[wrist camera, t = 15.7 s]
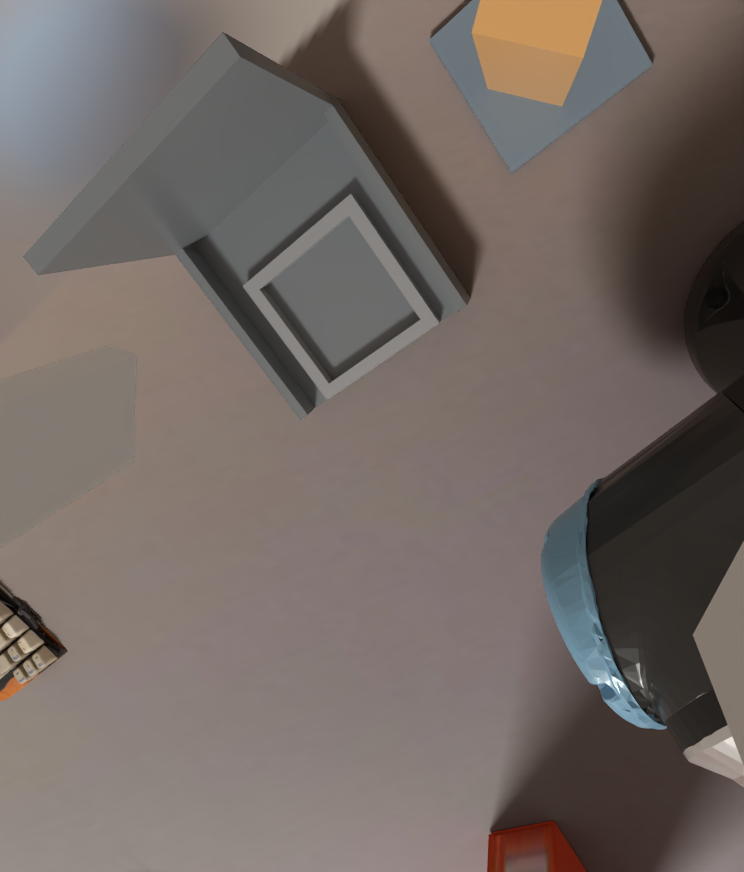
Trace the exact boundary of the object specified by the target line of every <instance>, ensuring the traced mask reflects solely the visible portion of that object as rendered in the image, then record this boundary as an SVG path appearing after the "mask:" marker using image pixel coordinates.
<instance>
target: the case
mask: <svg viewBox="0 0 744 872" xmlns="http://www.w3.org/2000/svg"><path fill="white" fill-rule="evenodd" d="M170 255H176V256H177V258H178V259H179V260H180V262H181V263H182V264H183V266H184V267H185V268H186V270H187V271H188V272H189V274H190V275H191V276H192V278H193V279H194V280H195V282H196V283H197V284H198V285H199V287H200V288H201V289H202V291H203V292H204V293H205V295H206V296H207V297H208V299H209V300H210V301H211V303H212V304H213V305H214V307H215V308H216V309H217V311H218V312H219V313H220V315H221V316H222V317H223V318H224V320H225V321H226V322H227V324H228V325H229V326H230V328H231V329H232V330H233V332H234V333H235V334H236V336H237V337H238V338H239V340H240V341H241V342H242V344H243V345H244V346H245V347H246V349H247V350H248V351H249V353H250V354H251V355H252V357H253V358H254V359H255V361H256V362H257V363H258V365H259V366H260V367H261V369H262V370H263V371H264V373H265V374H266V375H267V376H268V378H269V379H270V380H271V382H272V383H273V384H274V386H275V387H276V388H277V390H278V391H279V392H280V394H281V395H282V396H283V398H284V399H285V400H286V402H287V403H288V404H289V405H290V407H291V408H292V409H293V411H294V412H295V413H296V415H297V416H298V417H299V419H300V420H301V419H302V418H304V417H305V416H307V415H308V414H309V413H310V412H311V411H312V410H313V409H314V408H315V407H316V406H318V405H319V404H321V403H322V402H323V401H325V400H326V399H327V400H328V399H330V398H331V397H332V396H334V395H335V394H337V393H338V392H340V391H341V390H343V389H344V388H346V387H347V386H349V385H350V384H351V383H353V382H354V381H356V380H357V379H359V378H360V377H362V376H363V375H365V374H366V373H367V372H369V371H370V370H372V369H373V368H375V367H376V366H378V365H379V364H381V363H382V362H383V361H385V360H386V359H388V358H389V357H391V356H392V355H394V354H395V353H397V352H398V351H399V350H401V349H402V348H404V347H405V346H407V345H408V344H410V343H411V342H413V341H414V340H415V339H417V338H418V337H420V336H421V335H423V334H424V333H426V332H427V331H429V330H430V329H431V328H433V327H434V326H436V325H437V324H439V323H440V321H441V320H443V319H444V318H446V317H447V316H448V315H450V314H451V313H453V312H454V311H457V312H458V311H460V310H461V309H463V308H464V307H466V306H467V304H468V302H469V300H470V299H471V298H470V297H469V295H468V294H467V292H466V291H465V289H464V288H463V286H462V285H461V283H460V282H459V280H458V279H457V277H456V276H455V274H454V273H453V271H452V270H451V268H450V267H449V265H448V264H447V262H446V261H445V259H444V258H443V256H442V255H441V253H440V252H439V250H438V249H437V247H436V246H435V244H434V243H433V241H432V240H431V238H430V237H429V235H428V234H427V232H426V231H425V229H424V228H423V226H422V225H421V223H420V222H419V220H418V219H417V217H416V216H415V214H414V213H413V211H412V210H411V208H410V207H409V205H408V204H407V202H406V201H405V199H404V198H403V196H402V195H401V193H400V192H399V190H398V189H397V187H396V186H395V184H394V183H393V181H392V180H391V178H390V177H389V175H388V174H387V172H386V171H385V169H384V168H383V166H382V165H381V163H380V162H379V160H378V159H377V157H376V156H375V154H374V153H373V151H372V150H371V148H370V147H369V145H368V144H367V142H366V141H365V139H364V138H363V136H362V135H361V133H360V132H359V130H358V129H357V127H356V126H355V124H354V123H353V121H352V120H351V118H350V117H349V115H348V114H347V112H346V111H345V109H344V108H343V106H342V105H341V103H340V102H339V100H338V99H337V98H336V97H335V96H333V95H331V94H329V93H328V92H326V91H324V90H323V89H321V88H319V87H317V86H316V85H314V84H312V83H310V82H309V81H307V80H305V79H303V78H302V77H300V76H298V75H296V74H295V73H293V72H291V71H290V70H288V69H286V68H284V67H283V66H281V65H279V64H277V63H276V62H274V61H272V60H270V59H269V58H267V57H265V56H263V55H262V54H260V53H258V52H257V51H255V50H253V49H251V48H249V47H248V46H246V45H244V44H243V43H241V42H239V41H237V40H236V39H234V38H232V37H231V36H229V35H227V34H225V33H223V32H222V34H221V35H220V36H219V37H218V38H217V39H216V40H215V42H214V43H213V44H212V45H211V46H210V47H209V48H208V49H207V50H206V52H205V53H204V54H203V55H202V56H201V57H200V58H199V60H198V61H197V62H196V63H195V64H194V65H193V66H192V67H191V68H190V70H189V71H188V72H187V73H186V74H185V75H184V76H183V77H182V79H181V80H180V81H179V82H178V83H177V84H176V85H175V86H174V88H173V89H172V90H171V91H170V92H169V93H168V94H167V95H166V97H165V98H164V99H163V100H162V101H161V102H160V103H159V104H158V106H157V107H156V108H155V109H154V110H153V111H152V112H151V113H150V115H149V116H148V117H147V118H146V119H145V120H144V121H143V122H142V124H141V125H140V126H139V127H138V128H137V129H136V130H135V132H133V134H132V135H131V136H130V137H129V138H128V139H127V140H126V142H125V143H124V144H123V145H122V146H121V147H120V148H119V149H118V150H117V152H116V153H115V154H114V155H113V156H112V157H111V158H110V160H109V161H108V162H107V163H106V164H105V165H104V167H102V168H101V170H100V171H99V172H98V173H97V174H96V175H95V176H94V178H93V179H92V180H91V181H90V182H89V183H88V184H87V185H86V187H85V188H84V189H83V190H82V191H81V192H80V193H79V194H78V195H77V197H76V198H75V199H74V200H73V201H72V202H71V203H70V204H69V206H68V207H67V208H66V209H65V210H64V211H63V213H61V215H60V216H59V217H58V218H57V219H56V220H55V221H54V222H53V224H52V225H51V226H50V227H49V228H48V229H47V230H46V232H45V233H44V234H43V235H42V236H41V237H40V238H39V239H38V241H37V242H36V243H35V244H34V245H33V246H32V247H31V248H30V250H29V251H28V252H27V253H26V254H25V255H24V256H23V257H24V258H25V259H26V261H27V262H28V263H29V264H30V266H31V267H32V268H33V269H34V270H35V272H36V273H37V274H38V275H42V274H49V273H56V272H62V271H69V270H76V269H82V268H89V267H96V266H103V265H109V264H116V263H123V262H129V261H136V260H143V259H149V258H156V257H163V256H170Z"/></svg>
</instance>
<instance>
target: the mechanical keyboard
mask: <svg viewBox="0 0 744 872" xmlns="http://www.w3.org/2000/svg"><path fill="white" fill-rule="evenodd" d="M66 652H68V651H67V649H66V648H65V647H64V646H63V645H61V644H60V643H59V642H58V641H57V640H56V639H55V638H54V637H53V636H52V635H51V634H50V633H49V632H48V631H47V630H46V629H45V628H44V627H43V626H42V625H41V624H40V622H39V621H38V620H37V619H36V616H35V615H33V614H32V611H31V610H30V609H29V607H28V606H27V605H26V604H24V603H23V602H22V601H21V600H19V599H18V598H16V597H13V596H12V595H11V594H10V593H9V592H8V591H7V590H5V589H4V588H3V587H2V586H1V585H0V701H1V700H3V701H4V700H7V699H8V698H9V697H10V696H12V695H13V694H15V693H16V692H18V691H19V690H20V689H21V688H23V687H24V686H25V685H27V684H28V683H29V682H31V681H32V680H33V679H34V678H35V677H36V676H37V675H39V674H40V673H41V672H43V671H44V670H45V669H47V668H48V667H49V666H51V665H52V664H53V663H54V662H55V661H57V660H58V659H59V658H60V657H61V656H63V655H64V654H65V653H66Z"/></svg>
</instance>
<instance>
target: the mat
mask: <svg viewBox="0 0 744 872" xmlns="http://www.w3.org/2000/svg"><path fill="white" fill-rule="evenodd" d="M479 2H480V0H472V1H471V2H470V3H469V4H468V5H466V6H465V7H464V8H463V9H462V10H461V11H460V12H459V13H458V14H457V15H456V16H455V17H453V18H452V19H451V20H450V21H449V22H448V23H447V24H446V25H445V26H444V27H443V28H442V29H441V30H439V31H438V32H437V33H436V34H435V35H434V36H433V37H432V38H431V39H430V40H429V42H430V43H431V45H432V46H433V48H434V50H435V51H436V53H437V54H438V56H439V58H440V59H441V61H442V62H443V64H444V66H445V67H446V69H447V70H448V72H449V74H450V75H451V77H452V78H453V80H454V82H455V83H456V85H457V86H458V88H459V90H460V91H461V93H462V94H463V96H464V98H465V99H466V101H467V102H468V104H469V106H470V107H471V109H472V110H473V112H474V114H475V115H476V117H477V118H478V120H479V122H480V123H481V125H482V126H483V128H484V130H485V131H486V133H487V134H488V136H489V138H490V139H491V141H492V142H493V144H494V146H495V147H496V149H497V150H498V152H499V154H500V155H501V157H502V158H503V160H504V162H505V163H506V165H507V166H508V168H509V169H510V171H511V173H513V172H514V171H515V170H517V169H518V168H519V167H521V166H522V165H523V164H525V163H526V162H527V161H529V160H530V159H531V158H532V157H534V156H535V155H536V154H538V153H539V152H540V151H542V150H543V149H544V148H546V147H547V146H548V145H549V144H551V143H552V142H553V141H555V140H556V139H557V138H559V137H560V136H561V135H563V134H564V133H565V132H566V131H568V130H569V129H570V128H572V127H573V126H574V125H576V124H577V123H578V122H580V121H581V120H582V119H583V118H585V117H586V116H587V115H589V114H590V113H591V112H593V111H594V110H595V109H597V108H598V107H599V106H600V105H602V104H603V103H604V102H606V101H607V100H608V99H610V98H611V97H612V96H614V95H615V94H616V93H617V92H619V91H620V90H621V89H623V88H624V87H625V86H627V85H628V84H629V83H631V82H632V81H633V80H634V79H636V78H637V77H638V76H640V75H641V74H642V73H644V72H645V71H646V70H648V69H649V68H650V67H651V66H652V65H653V64H652V62H651V60H650V59H649V57H648V55H647V53H646V51H645V50H644V48H643V46H642V44H641V42H640V41H639V39H638V37H637V35H636V34H635V32H634V30H633V28H632V26H631V25H630V23H629V21H628V19H627V17H626V16H625V14H624V12H623V10H622V8H621V7H620V5H619V3H618V1H617V0H602V3H601V6H600V9H599V12H598V15H597V18H596V21H595V24H594V27H593V30H592V33H591V36H590V39H589V42H588V45H587V48H586V51H585V54H584V57H583V60H582V62H581V64H580V67H579V69H578V71H577V74H576V76H575V78H574V80H573V83H572V85H571V87H570V90H569V92H568V94H567V96H566V99H565V101H564V103H563V106H558V105H554V104H549V103H545V102H541V101H537V100H533V99H528V98H524V97H520V96H516V95H512V94H507V93H503V92H499V91H495V90H491V89H487V85H486V82H485V78H484V75H483V71H482V68H481V64H480V60H479V57H478V53H477V50H476V46H475V43H474V39H473V36H472V29H473V25H474V21H475V18H476V14H477V10H478V6H479Z"/></svg>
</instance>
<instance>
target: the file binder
mask: <svg viewBox="0 0 744 872" xmlns="http://www.w3.org/2000/svg"><path fill="white" fill-rule="evenodd" d="M487 872H587V871H586V870H585V868H584V867H583V865H582V863H581V862H580V860H579V859H578V857H577V856H576V854H575V852H574V851H573V849H572V848H571V846H570V845H569V843H568V841H567V840H566V838H565V837H564V835H563V834H562V832H561V831H560V829H559V827H558V826H557V824H556V823H555V821H549V822H544V823H538V824H533V825H527V826H522V827H517V828H511V829H506V830H501V831H495V832H493V834H489V842H488V867H487Z"/></svg>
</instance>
